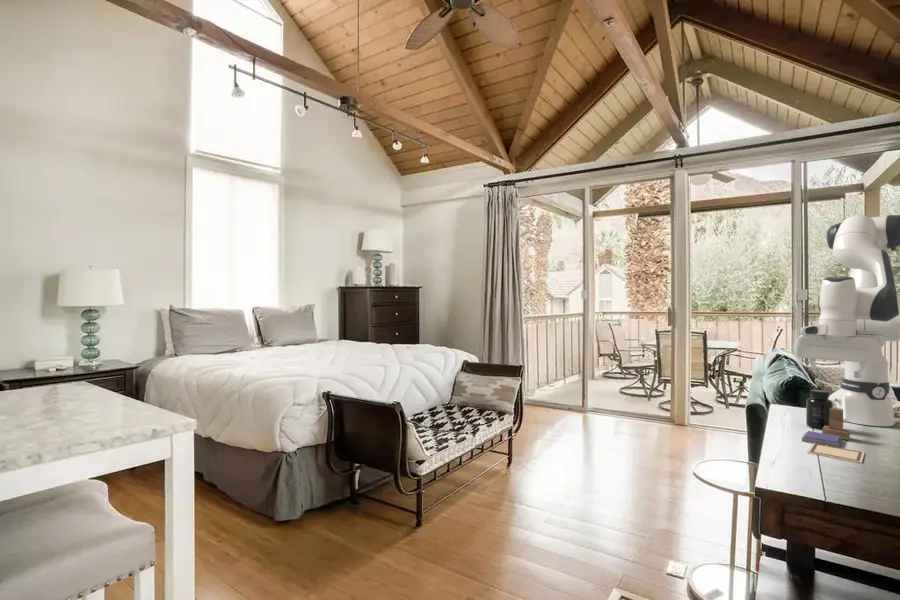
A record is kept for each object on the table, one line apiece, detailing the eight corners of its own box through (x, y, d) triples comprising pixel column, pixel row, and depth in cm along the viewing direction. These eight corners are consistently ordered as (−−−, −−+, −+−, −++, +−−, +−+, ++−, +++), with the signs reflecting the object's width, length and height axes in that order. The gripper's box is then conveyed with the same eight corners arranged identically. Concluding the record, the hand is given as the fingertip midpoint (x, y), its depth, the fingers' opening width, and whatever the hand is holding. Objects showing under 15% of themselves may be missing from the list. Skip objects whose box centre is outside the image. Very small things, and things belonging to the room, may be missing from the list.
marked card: (813, 444, 133) (813, 442, 133) (864, 453, 125) (864, 451, 125) (807, 452, 125) (807, 451, 125) (861, 463, 118) (861, 461, 118)
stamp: (824, 433, 144) (824, 406, 144) (849, 438, 140) (850, 409, 140) (822, 437, 140) (822, 408, 140) (848, 441, 136) (848, 412, 136)
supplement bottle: (838, 429, 149) (839, 392, 148) (821, 431, 147) (822, 393, 147) (816, 424, 155) (817, 388, 155) (800, 425, 154) (801, 389, 154)
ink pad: (806, 435, 142) (806, 430, 142) (842, 441, 136) (842, 436, 136) (801, 441, 136) (801, 436, 136) (839, 448, 130) (839, 442, 130)
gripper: (884, 331, 135) (884, 379, 135) (797, 327, 149) (797, 370, 149) (884, 332, 130) (883, 381, 130) (794, 328, 145) (793, 372, 145)
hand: (836, 375), depth 140 cm, fingers open, 8 cm apart
